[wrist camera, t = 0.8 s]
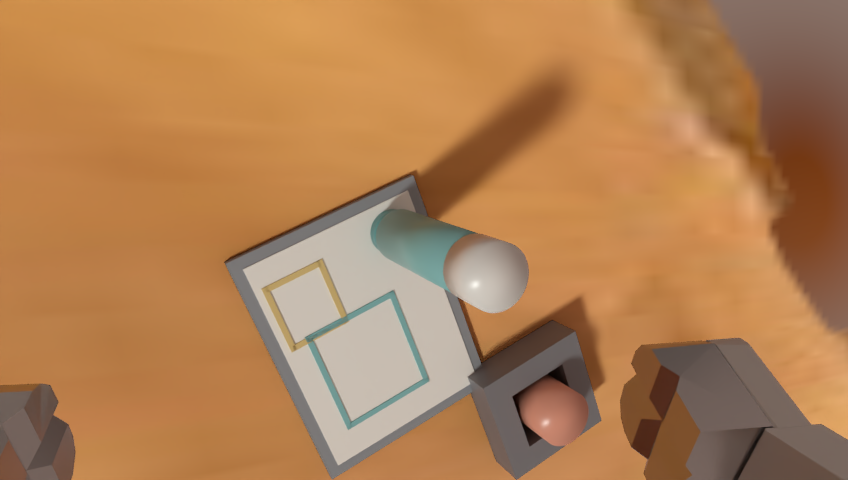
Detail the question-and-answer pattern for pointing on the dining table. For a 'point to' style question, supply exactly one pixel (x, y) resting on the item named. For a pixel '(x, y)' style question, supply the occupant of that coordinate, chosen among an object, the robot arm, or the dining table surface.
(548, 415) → the button
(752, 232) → the dining table surface
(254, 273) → the picture board
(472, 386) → the button housing
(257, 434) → the dining table surface
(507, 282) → the marker
